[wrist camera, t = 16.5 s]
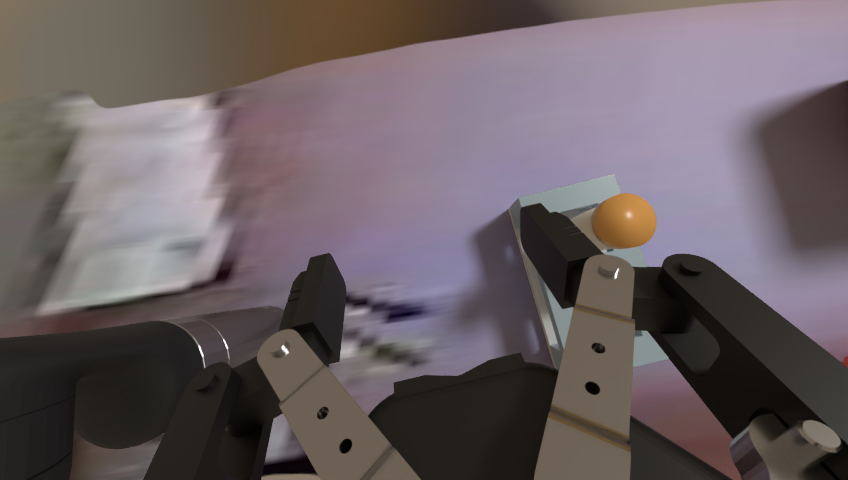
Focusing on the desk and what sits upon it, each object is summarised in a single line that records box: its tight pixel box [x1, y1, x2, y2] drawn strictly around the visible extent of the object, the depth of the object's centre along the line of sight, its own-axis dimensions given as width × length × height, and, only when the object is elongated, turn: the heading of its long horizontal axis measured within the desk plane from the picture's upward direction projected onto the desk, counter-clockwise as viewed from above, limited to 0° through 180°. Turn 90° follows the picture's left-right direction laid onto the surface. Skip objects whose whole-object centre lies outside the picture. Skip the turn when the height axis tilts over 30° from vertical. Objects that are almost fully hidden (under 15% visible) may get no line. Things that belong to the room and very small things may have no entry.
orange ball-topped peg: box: [570, 193, 656, 250], centre depth 35 cm, size 5×5×14 cm
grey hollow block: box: [508, 174, 669, 370], centre depth 39 cm, size 22×12×6 cm, turn 14°
